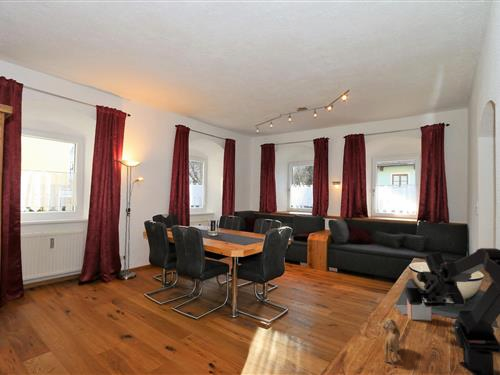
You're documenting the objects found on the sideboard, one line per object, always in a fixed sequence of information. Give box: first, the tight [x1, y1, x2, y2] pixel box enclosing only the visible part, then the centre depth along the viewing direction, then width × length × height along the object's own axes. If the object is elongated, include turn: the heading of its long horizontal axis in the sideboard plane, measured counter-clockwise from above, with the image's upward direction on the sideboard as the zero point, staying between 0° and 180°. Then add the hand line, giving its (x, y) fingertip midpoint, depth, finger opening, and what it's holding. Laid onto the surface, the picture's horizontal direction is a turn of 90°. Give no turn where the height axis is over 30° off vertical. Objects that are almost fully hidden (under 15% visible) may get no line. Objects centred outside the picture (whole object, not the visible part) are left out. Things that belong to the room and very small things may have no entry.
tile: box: [406, 298, 433, 322], centre depth 114 cm, size 3×8×10 cm, turn 84°
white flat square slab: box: [393, 304, 408, 316], centre depth 122 cm, size 10×10×1 cm
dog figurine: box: [381, 317, 401, 366], centre depth 88 cm, size 15×5×9 cm, turn 158°
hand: (426, 306), depth 109 cm, fingers closed
